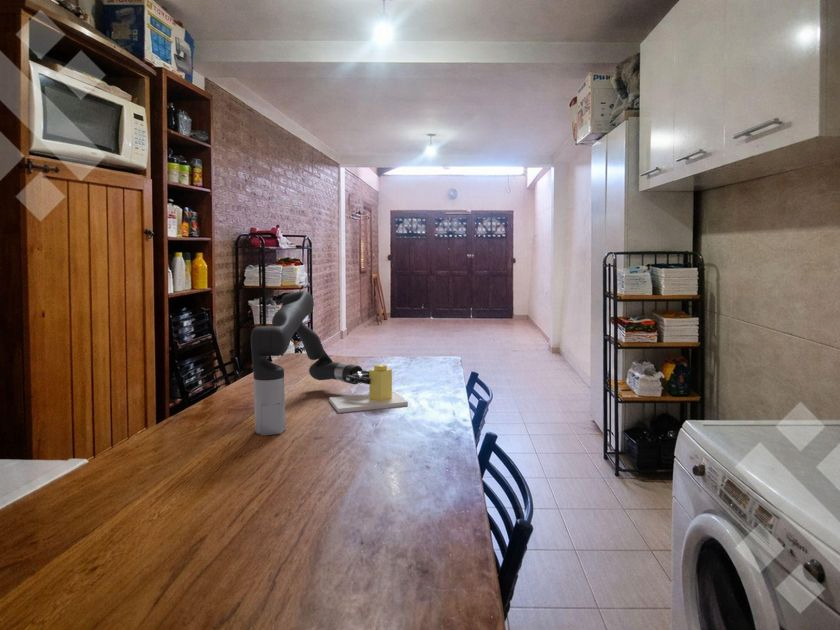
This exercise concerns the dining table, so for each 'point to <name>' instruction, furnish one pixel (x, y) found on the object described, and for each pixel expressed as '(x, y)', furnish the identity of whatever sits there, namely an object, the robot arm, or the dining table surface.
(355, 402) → the plate
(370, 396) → the tall yellow stud brick
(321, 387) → the dining table surface
